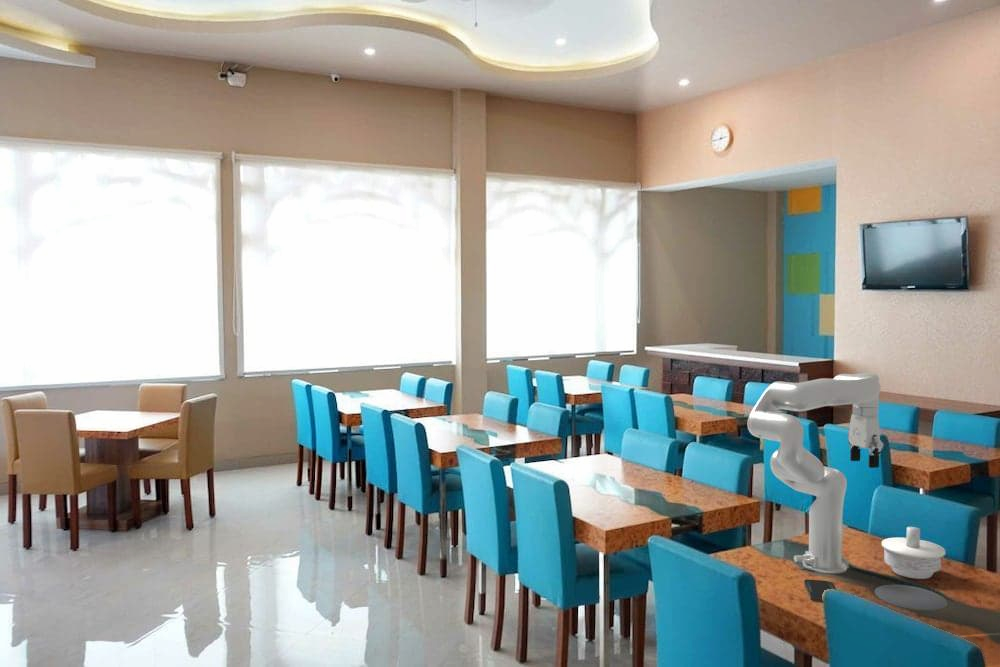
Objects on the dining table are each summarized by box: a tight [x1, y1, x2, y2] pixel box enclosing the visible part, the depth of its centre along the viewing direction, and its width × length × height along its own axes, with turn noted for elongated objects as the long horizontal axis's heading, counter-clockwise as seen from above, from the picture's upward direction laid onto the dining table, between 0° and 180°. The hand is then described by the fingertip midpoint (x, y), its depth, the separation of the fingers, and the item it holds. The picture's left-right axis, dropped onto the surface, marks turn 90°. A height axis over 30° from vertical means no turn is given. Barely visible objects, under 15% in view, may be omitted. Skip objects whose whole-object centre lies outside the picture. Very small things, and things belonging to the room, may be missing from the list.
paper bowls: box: [883, 548, 942, 580], centre depth 230 cm, size 15×15×8 cm
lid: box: [881, 526, 946, 559], centre depth 230 cm, size 17×17×6 cm
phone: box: [804, 578, 836, 603], centre depth 217 cm, size 8×1×15 cm
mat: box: [874, 584, 948, 611], centre depth 212 cm, size 18×18×1 cm
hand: (864, 464), depth 245 cm, fingers open, 9 cm apart
